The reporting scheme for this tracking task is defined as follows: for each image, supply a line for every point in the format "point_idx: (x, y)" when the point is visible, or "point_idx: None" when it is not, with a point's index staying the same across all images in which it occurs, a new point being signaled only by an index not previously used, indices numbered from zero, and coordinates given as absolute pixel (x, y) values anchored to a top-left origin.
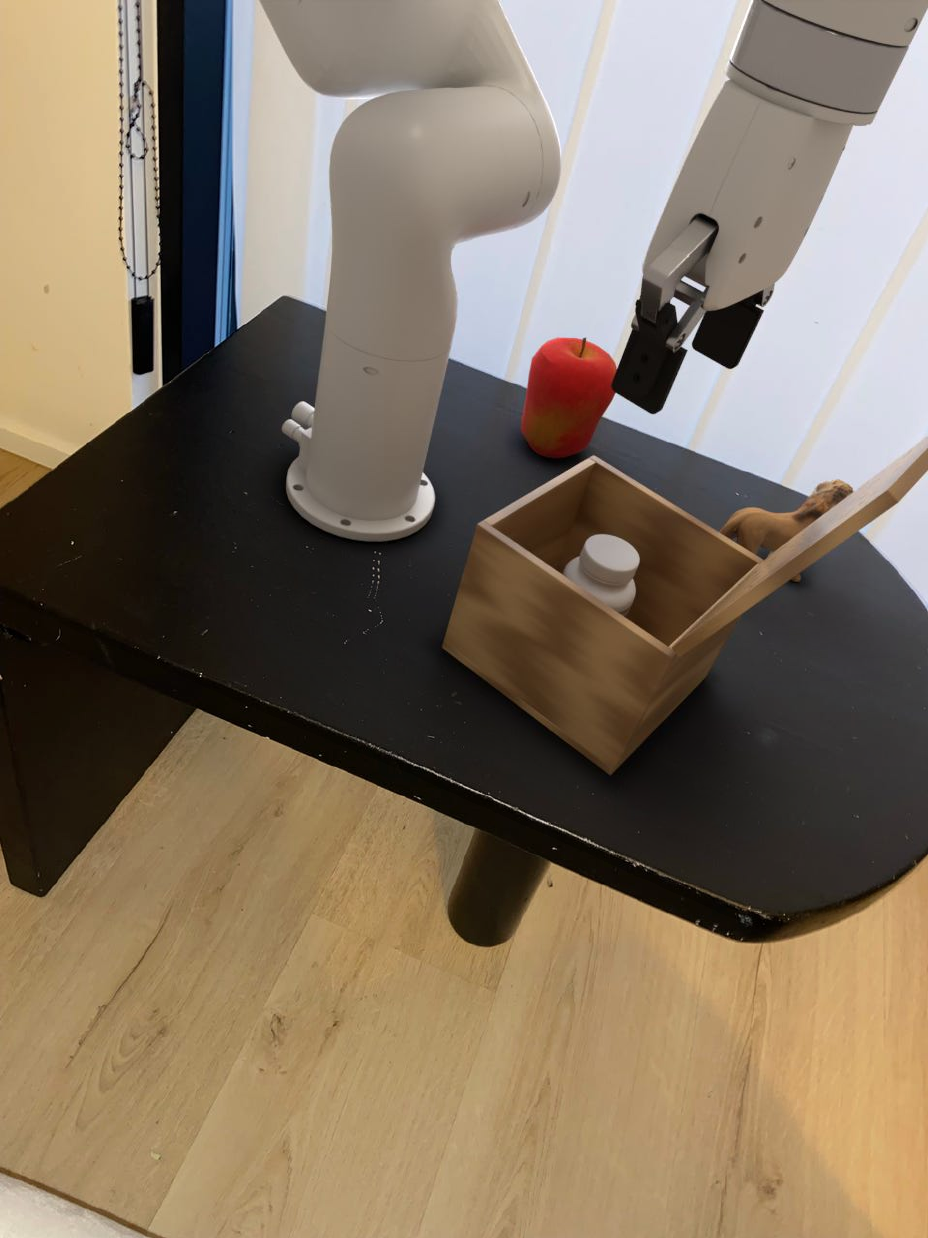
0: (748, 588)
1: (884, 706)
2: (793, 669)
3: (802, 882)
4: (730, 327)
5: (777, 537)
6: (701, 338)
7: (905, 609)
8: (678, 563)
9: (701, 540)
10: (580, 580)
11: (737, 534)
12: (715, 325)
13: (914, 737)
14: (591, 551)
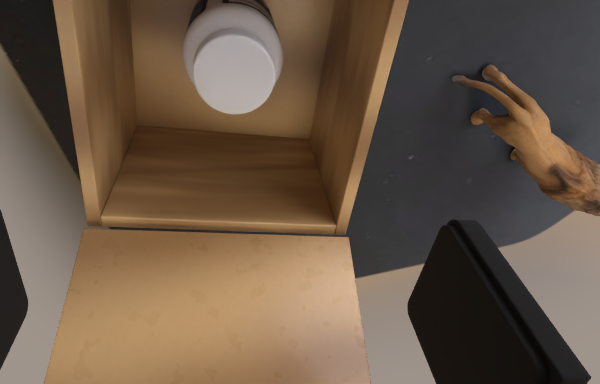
0: (89, 341)
1: (386, 252)
2: (381, 193)
3: None
4: (456, 362)
5: (520, 154)
6: (451, 260)
7: (524, 234)
8: (341, 120)
9: (348, 154)
10: (196, 45)
11: (505, 117)
12: (468, 317)
13: (367, 273)
14: (207, 54)
